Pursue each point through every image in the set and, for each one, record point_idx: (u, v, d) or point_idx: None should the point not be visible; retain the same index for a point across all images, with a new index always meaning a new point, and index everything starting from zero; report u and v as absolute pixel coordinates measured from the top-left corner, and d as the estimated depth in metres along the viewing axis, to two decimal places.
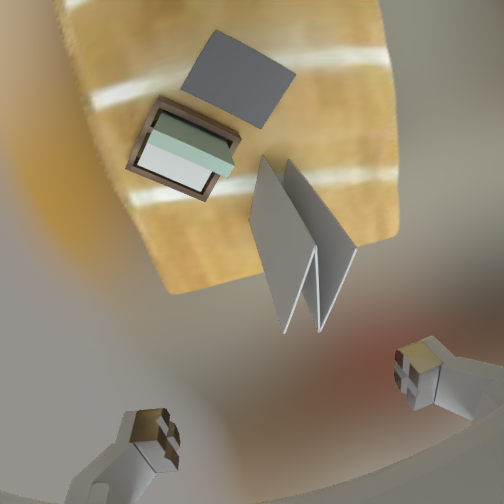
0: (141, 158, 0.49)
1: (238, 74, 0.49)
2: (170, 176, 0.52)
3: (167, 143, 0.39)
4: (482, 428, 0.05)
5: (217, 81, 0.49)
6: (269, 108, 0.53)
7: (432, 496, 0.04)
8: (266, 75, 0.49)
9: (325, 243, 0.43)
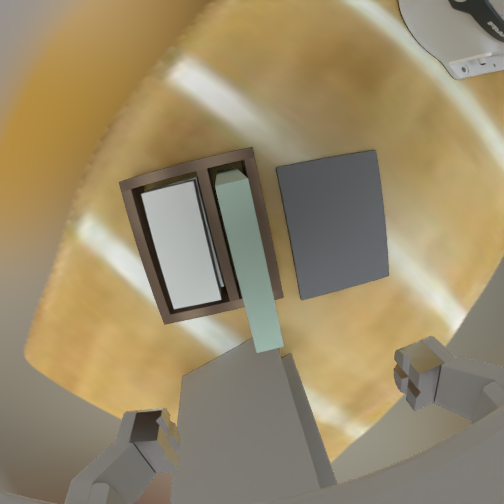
0: (155, 193, 0.29)
1: (345, 220, 0.36)
2: (161, 254, 0.30)
3: (240, 222, 0.20)
4: (482, 428, 0.05)
5: (319, 203, 0.36)
6: (332, 286, 0.39)
7: (432, 496, 0.04)
8: (366, 249, 0.38)
9: None
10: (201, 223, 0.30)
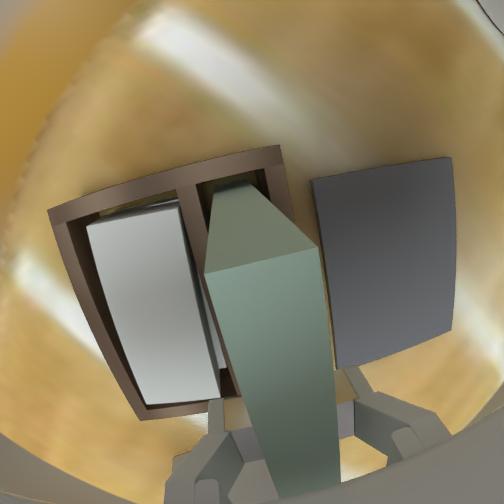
0: (109, 226, 0.15)
1: (407, 261, 0.23)
2: (122, 328, 0.17)
3: (285, 373, 0.06)
4: (482, 428, 0.05)
5: (375, 237, 0.22)
6: (381, 351, 0.25)
7: (432, 496, 0.04)
8: (429, 299, 0.24)
9: None
10: (190, 284, 0.17)
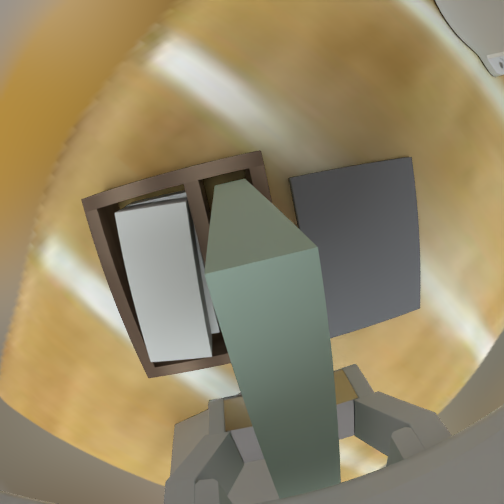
0: (132, 213, 0.21)
1: (373, 245, 0.29)
2: (136, 294, 0.22)
3: (285, 373, 0.06)
4: (482, 428, 0.05)
5: (344, 224, 0.28)
6: (355, 324, 0.31)
7: (432, 496, 0.04)
8: (396, 279, 0.30)
9: None
10: (192, 260, 0.22)
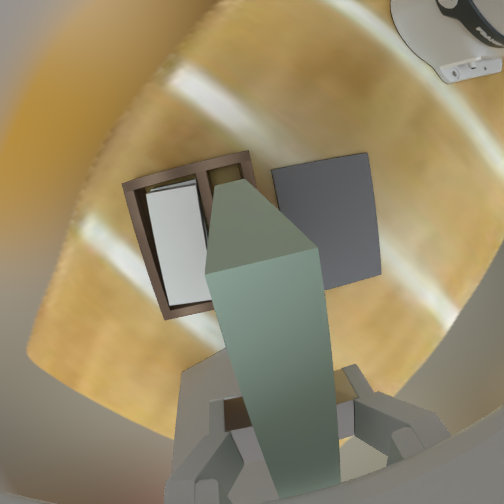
0: (159, 194, 0.30)
1: (338, 220, 0.38)
2: (161, 252, 0.32)
3: (285, 373, 0.06)
4: (482, 428, 0.05)
5: (313, 204, 0.37)
6: (326, 284, 0.40)
7: (432, 496, 0.04)
8: (358, 248, 0.39)
9: None
10: (201, 225, 0.32)
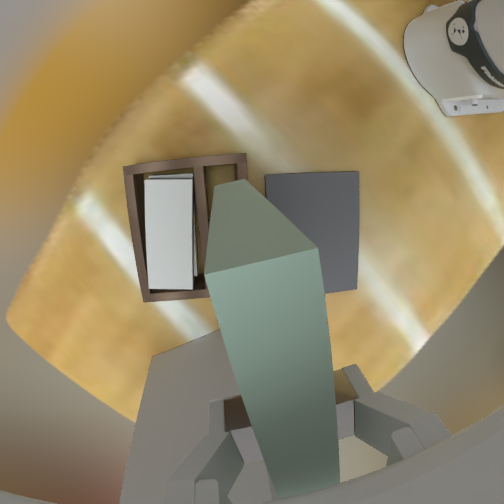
0: (156, 181, 0.32)
1: (321, 231, 0.40)
2: (149, 237, 0.33)
3: (285, 374, 0.06)
4: (482, 428, 0.05)
5: (300, 213, 0.39)
6: None
7: (432, 496, 0.04)
8: (337, 261, 0.42)
9: None
10: (190, 218, 0.33)
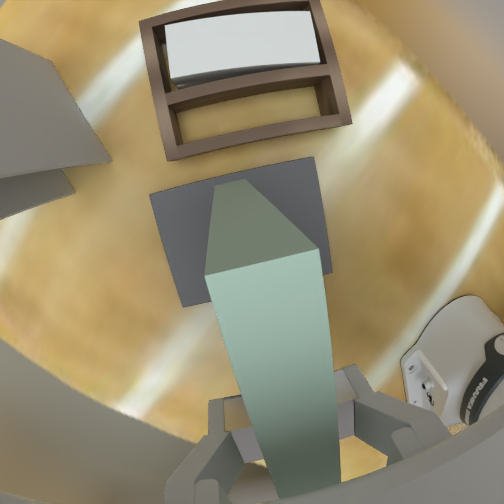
0: (309, 23, 0.21)
1: None
2: (238, 18, 0.21)
3: (286, 375, 0.06)
4: (482, 428, 0.05)
5: None
6: (167, 234, 0.31)
7: (432, 496, 0.04)
8: None
9: None
10: (271, 63, 0.22)
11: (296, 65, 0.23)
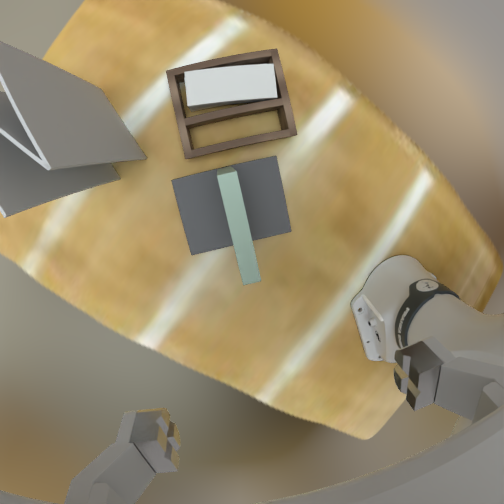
0: (272, 72, 0.39)
1: None
2: (228, 69, 0.38)
3: (232, 197, 0.32)
4: (482, 428, 0.05)
5: (250, 188, 0.48)
6: (182, 205, 0.48)
7: (432, 496, 0.04)
8: (214, 230, 0.49)
9: (28, 167, 0.23)
10: (247, 98, 0.40)
11: (263, 99, 0.41)
